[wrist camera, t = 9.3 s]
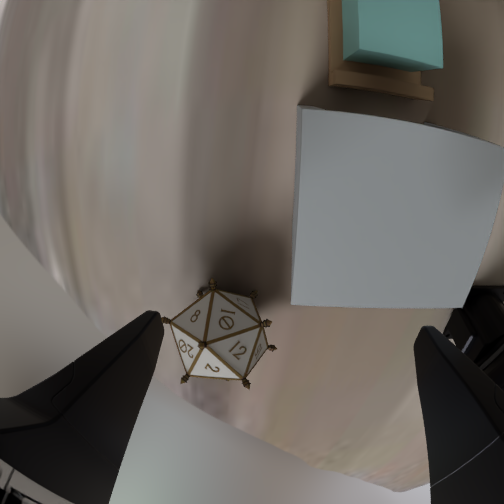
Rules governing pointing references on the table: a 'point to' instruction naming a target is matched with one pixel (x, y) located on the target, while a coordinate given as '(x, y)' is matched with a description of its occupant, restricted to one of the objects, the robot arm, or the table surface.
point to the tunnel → (389, 211)
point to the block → (393, 33)
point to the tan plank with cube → (367, 67)
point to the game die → (220, 335)
